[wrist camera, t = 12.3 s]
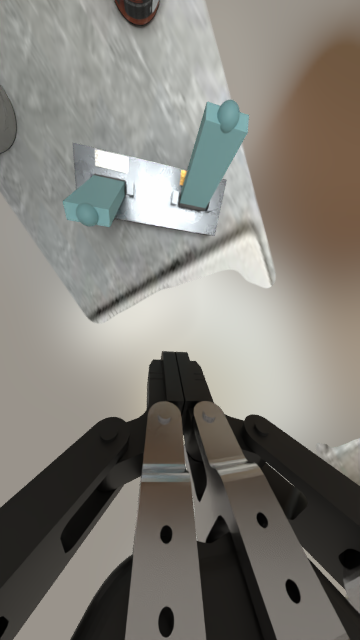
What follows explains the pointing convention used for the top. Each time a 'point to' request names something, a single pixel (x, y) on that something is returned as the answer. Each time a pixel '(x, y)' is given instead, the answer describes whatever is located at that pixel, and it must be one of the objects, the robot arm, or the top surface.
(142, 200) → the switch box
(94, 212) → the inner lever
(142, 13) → the supplement bottle
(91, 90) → the top surface
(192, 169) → the outer lever
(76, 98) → the top surface
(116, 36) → the top surface
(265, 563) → the robot arm
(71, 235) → the top surface
